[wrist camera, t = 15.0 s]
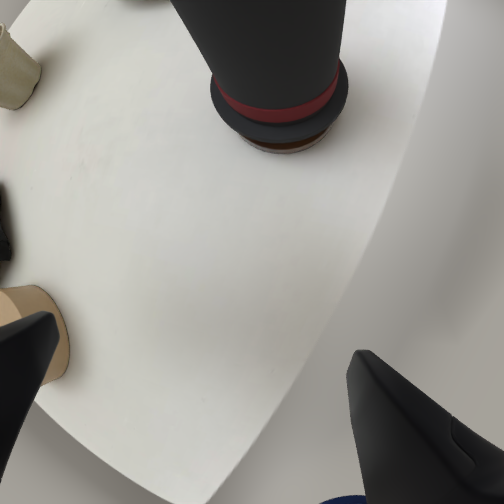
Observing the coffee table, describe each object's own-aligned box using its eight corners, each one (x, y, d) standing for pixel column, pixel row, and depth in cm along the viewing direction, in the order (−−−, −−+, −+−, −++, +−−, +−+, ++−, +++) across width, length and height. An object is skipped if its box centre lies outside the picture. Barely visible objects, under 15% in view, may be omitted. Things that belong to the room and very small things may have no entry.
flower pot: (62, 66, 22) (10, 31, 14) (12, 137, 23) (-45, 118, 15) (39, 45, 23) (-3, 16, 15) (-3, 104, 24) (-49, 85, 16)
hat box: (76, 313, 21) (38, 323, 17) (65, 396, 22) (34, 414, 18) (17, 269, 23) (-17, 271, 18) (10, 347, 23) (-20, 356, 19)
